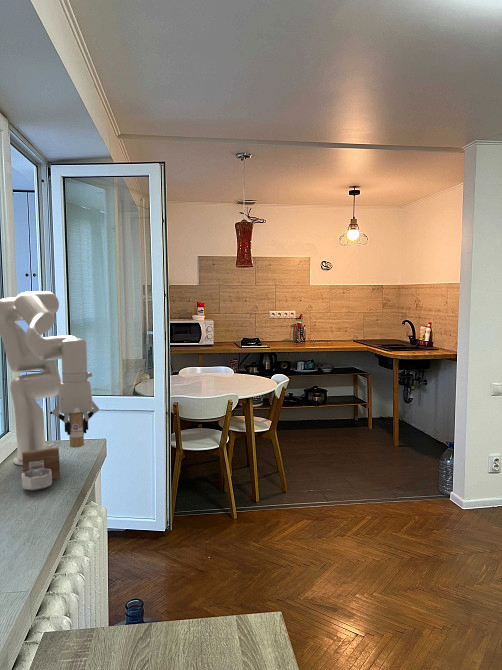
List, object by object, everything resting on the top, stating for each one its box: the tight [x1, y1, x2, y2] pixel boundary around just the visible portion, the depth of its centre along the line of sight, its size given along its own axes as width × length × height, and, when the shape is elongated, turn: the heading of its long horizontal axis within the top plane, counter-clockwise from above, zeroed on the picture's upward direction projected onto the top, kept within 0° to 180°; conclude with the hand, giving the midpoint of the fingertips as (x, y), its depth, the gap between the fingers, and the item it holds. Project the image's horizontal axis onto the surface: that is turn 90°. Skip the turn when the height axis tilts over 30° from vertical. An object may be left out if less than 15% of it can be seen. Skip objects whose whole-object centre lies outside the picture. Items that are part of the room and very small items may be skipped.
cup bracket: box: [21, 460, 53, 491], centre depth 166 cm, size 11×9×6 cm
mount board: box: [22, 446, 61, 480], centre depth 174 cm, size 6×11×10 cm, turn 113°
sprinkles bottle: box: [68, 408, 85, 449], centre depth 169 cm, size 5×5×13 cm
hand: (76, 432), depth 169 cm, fingers closed on sprinkles bottle, 4 cm apart
